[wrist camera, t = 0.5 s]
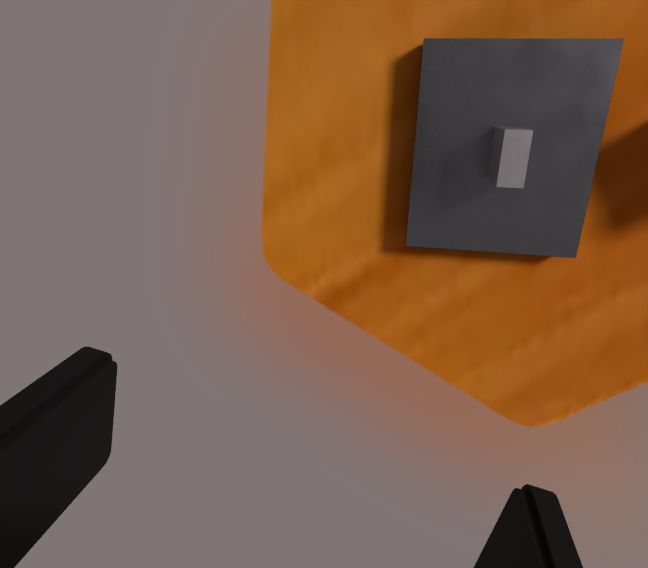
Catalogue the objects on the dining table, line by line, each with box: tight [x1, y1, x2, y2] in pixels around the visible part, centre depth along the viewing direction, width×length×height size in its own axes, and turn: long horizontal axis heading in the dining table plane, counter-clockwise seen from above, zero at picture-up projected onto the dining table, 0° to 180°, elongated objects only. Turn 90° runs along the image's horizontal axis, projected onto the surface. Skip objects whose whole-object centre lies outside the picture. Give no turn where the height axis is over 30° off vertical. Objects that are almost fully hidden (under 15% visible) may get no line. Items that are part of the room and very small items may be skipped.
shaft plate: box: [406, 39, 624, 258], centre depth 31 cm, size 14×12×6 cm
